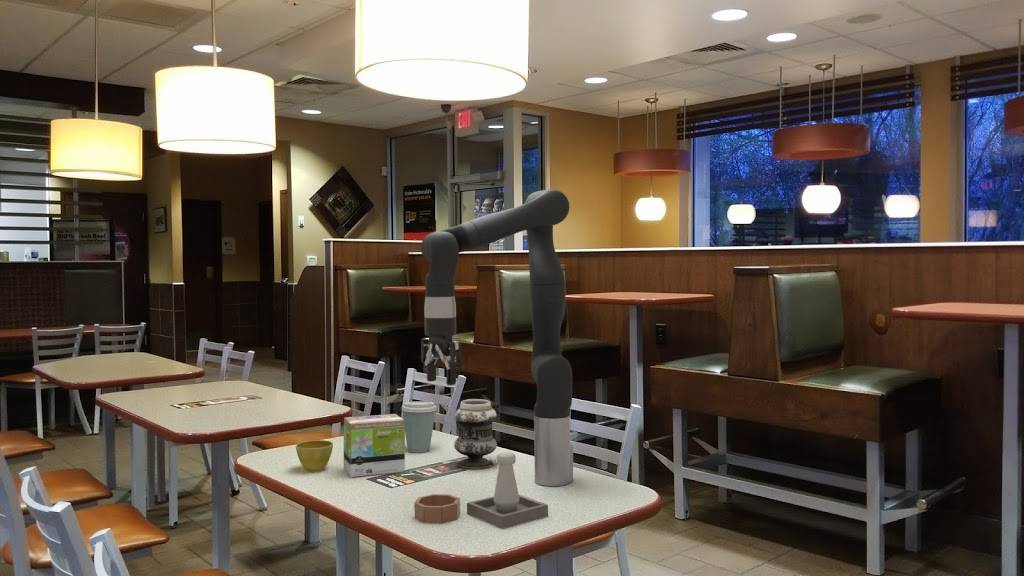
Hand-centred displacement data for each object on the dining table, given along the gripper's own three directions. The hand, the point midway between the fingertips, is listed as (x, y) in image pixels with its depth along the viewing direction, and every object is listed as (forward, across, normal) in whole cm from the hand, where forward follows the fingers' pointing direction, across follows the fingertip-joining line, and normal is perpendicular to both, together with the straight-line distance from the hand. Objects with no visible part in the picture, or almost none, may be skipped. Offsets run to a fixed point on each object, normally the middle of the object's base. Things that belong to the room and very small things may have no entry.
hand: (441, 382), depth 188 cm
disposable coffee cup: (+28, +46, -22) cm, 58 cm away
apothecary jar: (+28, +21, -25) cm, 43 cm away
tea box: (+28, +34, 0) cm, 44 cm away
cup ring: (+28, -10, +8) cm, 31 cm away
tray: (+28, -20, -4) cm, 34 cm away
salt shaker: (+28, -19, -5) cm, 34 cm away
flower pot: (+28, +46, +12) cm, 55 cm away
